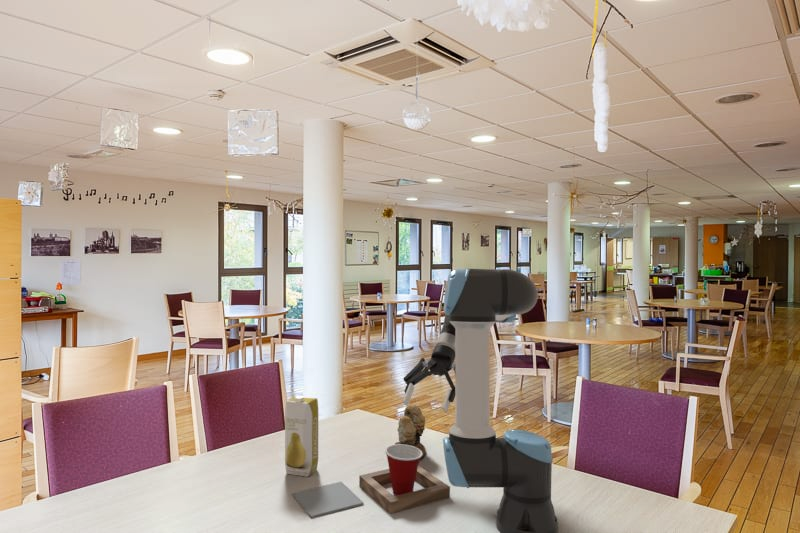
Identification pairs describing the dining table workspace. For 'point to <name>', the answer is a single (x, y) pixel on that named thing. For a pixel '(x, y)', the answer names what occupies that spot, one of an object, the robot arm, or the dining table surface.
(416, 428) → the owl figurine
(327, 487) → the rubber mat
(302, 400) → the juice carton
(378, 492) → the square wooden frame
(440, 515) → the dining table surface
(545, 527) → the robot arm
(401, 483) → the plastic cup
